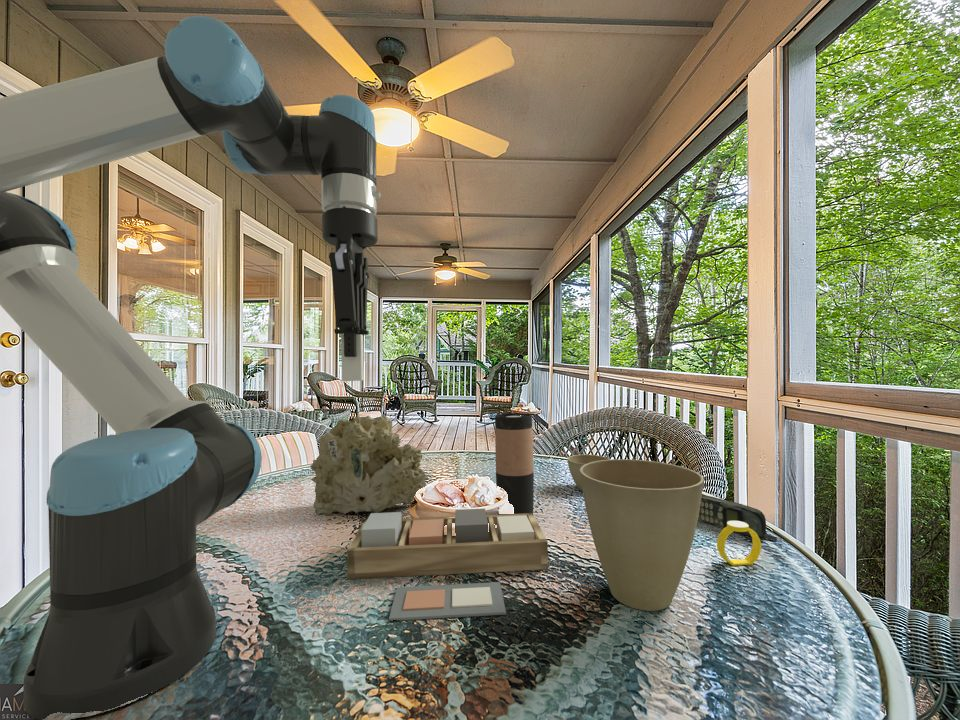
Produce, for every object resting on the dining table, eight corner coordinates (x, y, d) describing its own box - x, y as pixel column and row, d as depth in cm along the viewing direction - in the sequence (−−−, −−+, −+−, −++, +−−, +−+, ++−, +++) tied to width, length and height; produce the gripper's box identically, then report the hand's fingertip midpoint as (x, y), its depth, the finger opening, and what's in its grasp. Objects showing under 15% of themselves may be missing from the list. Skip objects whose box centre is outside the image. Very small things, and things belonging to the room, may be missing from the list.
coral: (433, 502, 93) (431, 412, 93) (425, 519, 83) (423, 418, 83) (323, 502, 94) (321, 414, 94) (302, 518, 84) (300, 419, 85)
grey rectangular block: (488, 544, 63) (488, 524, 63) (455, 545, 63) (455, 525, 63) (485, 526, 70) (485, 508, 70) (455, 527, 70) (455, 509, 70)
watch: (727, 571, 60) (723, 529, 60) (715, 562, 63) (711, 522, 63) (766, 565, 61) (762, 524, 61) (753, 557, 64) (748, 518, 64)
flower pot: (566, 493, 97) (565, 462, 97) (569, 481, 107) (569, 453, 107) (611, 496, 94) (610, 464, 94) (610, 484, 104) (609, 455, 104)
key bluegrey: (395, 548, 63) (395, 528, 63) (361, 550, 62) (361, 529, 62) (401, 530, 70) (401, 512, 70) (371, 531, 69) (370, 513, 69)
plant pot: (628, 643, 45) (624, 494, 45) (562, 577, 59) (560, 464, 59) (737, 617, 49) (733, 480, 49) (651, 560, 63) (649, 455, 63)
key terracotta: (442, 555, 63) (442, 535, 63) (409, 557, 63) (408, 537, 63) (443, 536, 70) (443, 518, 70) (413, 538, 70) (413, 520, 70)
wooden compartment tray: (548, 569, 61) (547, 541, 61) (347, 579, 60) (347, 551, 60) (533, 535, 73) (532, 513, 73) (365, 543, 72) (365, 520, 72)
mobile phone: (682, 493, 81) (768, 513, 68) (692, 490, 83) (777, 509, 70) (684, 519, 81) (770, 544, 68) (693, 516, 82) (779, 540, 70)
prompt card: (506, 614, 50) (505, 610, 50) (388, 621, 50) (388, 616, 50) (499, 584, 57) (499, 580, 57) (397, 589, 57) (397, 585, 57)
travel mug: (503, 523, 80) (501, 418, 80) (491, 510, 87) (489, 413, 87) (540, 518, 82) (538, 416, 82) (526, 506, 89) (524, 412, 89)
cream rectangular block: (534, 551, 64) (534, 531, 64) (502, 552, 64) (501, 533, 64) (526, 533, 71) (526, 515, 71) (497, 534, 70) (497, 516, 71)
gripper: (367, 196, 53) (370, 381, 53) (384, 229, 66) (387, 378, 66) (306, 196, 53) (309, 383, 52) (336, 229, 66) (338, 379, 65)
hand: (353, 380), depth 59 cm, fingers closed
